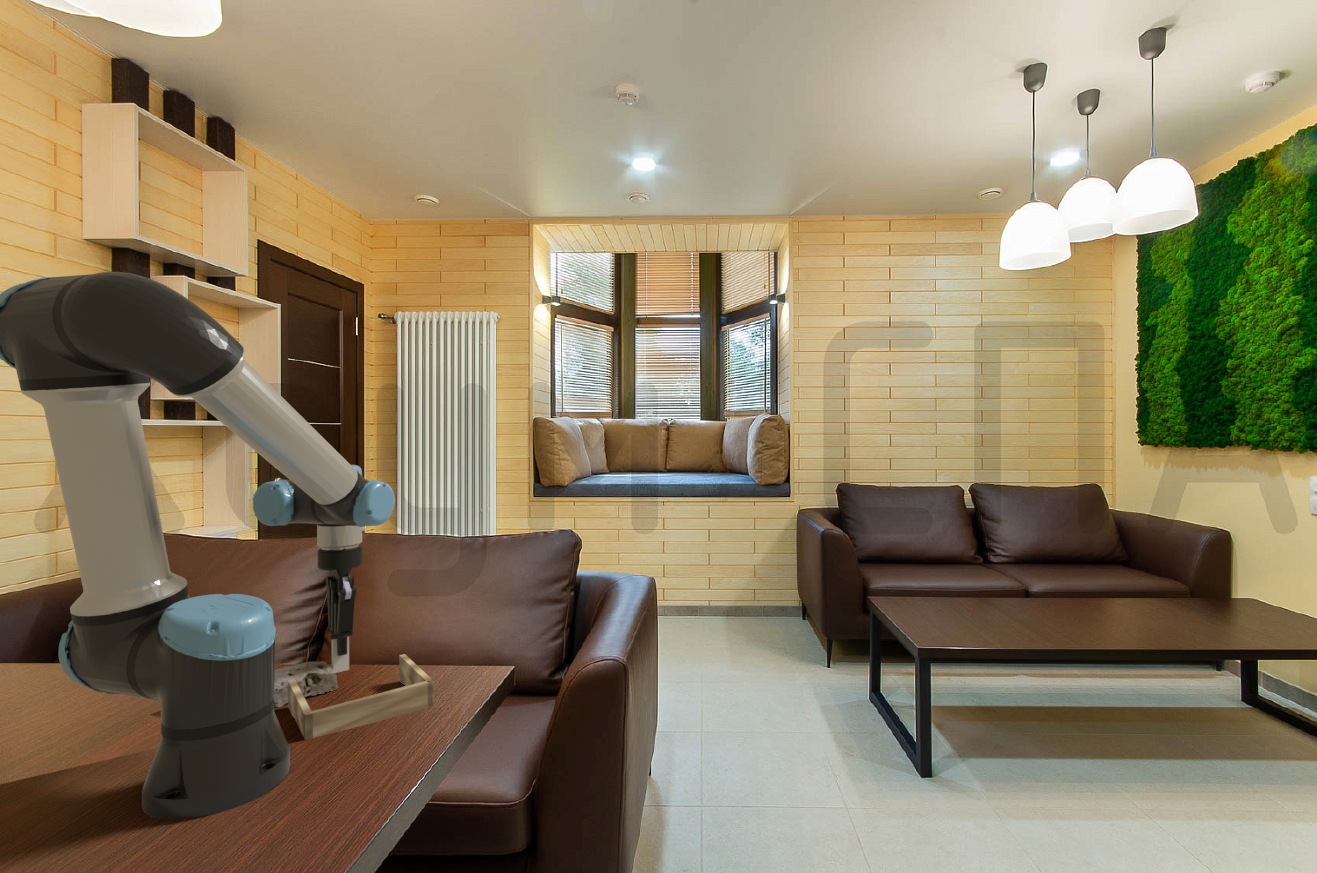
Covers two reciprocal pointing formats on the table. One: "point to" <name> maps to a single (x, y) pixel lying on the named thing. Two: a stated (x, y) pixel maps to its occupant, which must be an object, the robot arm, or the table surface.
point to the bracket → (364, 704)
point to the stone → (304, 680)
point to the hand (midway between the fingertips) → (340, 670)
